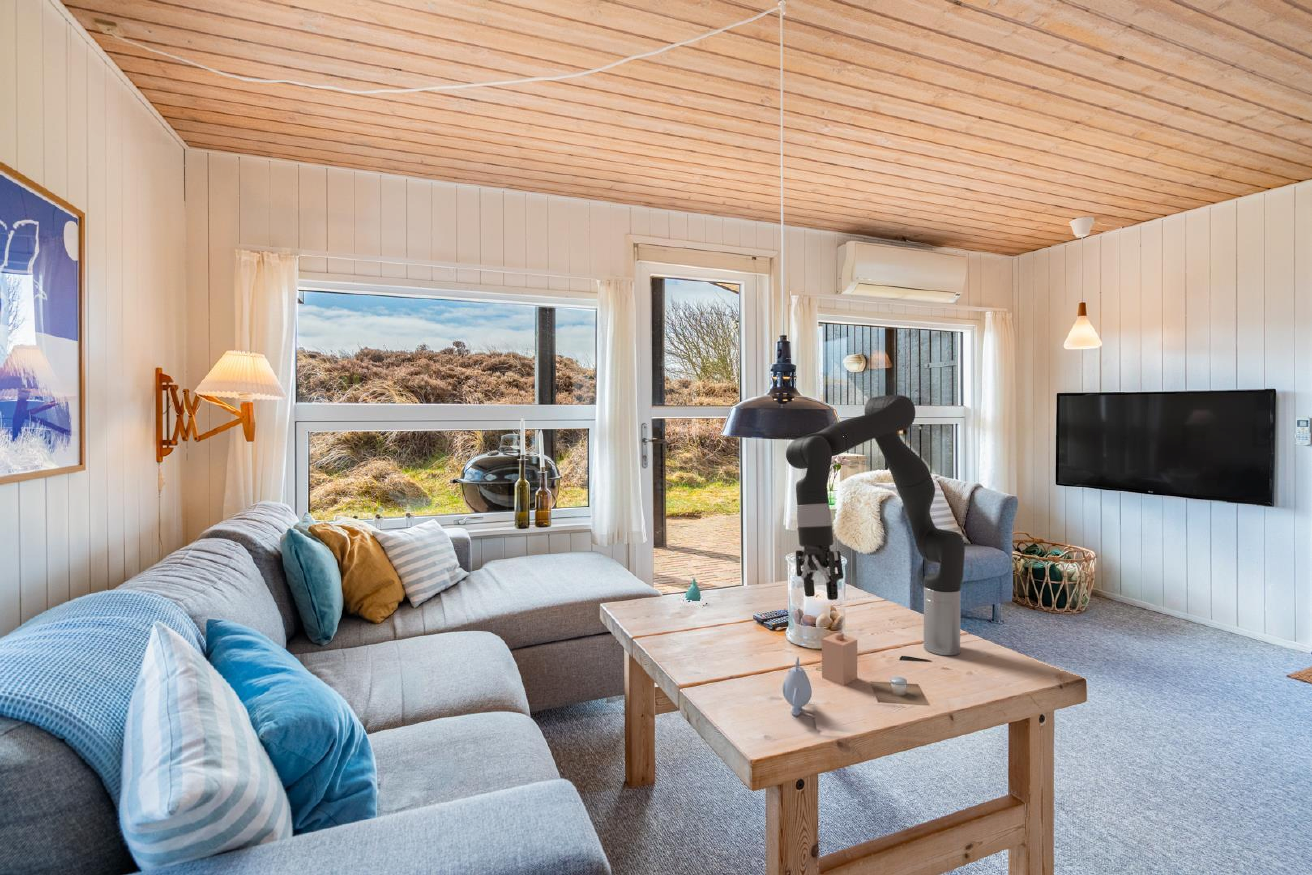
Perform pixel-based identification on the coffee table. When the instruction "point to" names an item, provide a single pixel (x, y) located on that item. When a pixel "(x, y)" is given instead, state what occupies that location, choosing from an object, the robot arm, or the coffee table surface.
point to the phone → (913, 659)
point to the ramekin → (898, 686)
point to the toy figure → (797, 688)
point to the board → (886, 696)
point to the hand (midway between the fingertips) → (821, 597)
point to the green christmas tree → (693, 592)
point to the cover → (839, 658)
